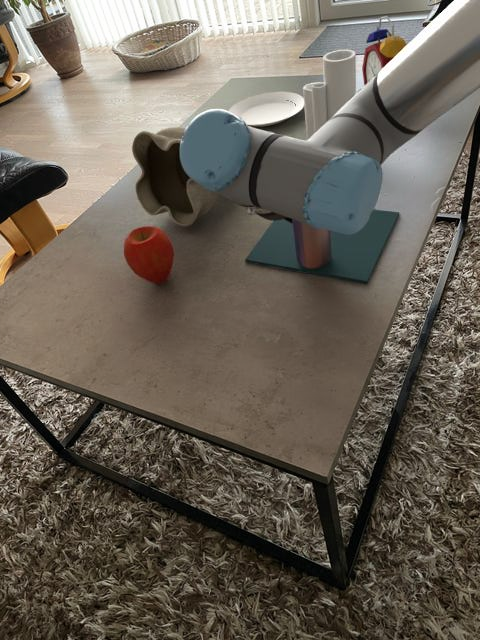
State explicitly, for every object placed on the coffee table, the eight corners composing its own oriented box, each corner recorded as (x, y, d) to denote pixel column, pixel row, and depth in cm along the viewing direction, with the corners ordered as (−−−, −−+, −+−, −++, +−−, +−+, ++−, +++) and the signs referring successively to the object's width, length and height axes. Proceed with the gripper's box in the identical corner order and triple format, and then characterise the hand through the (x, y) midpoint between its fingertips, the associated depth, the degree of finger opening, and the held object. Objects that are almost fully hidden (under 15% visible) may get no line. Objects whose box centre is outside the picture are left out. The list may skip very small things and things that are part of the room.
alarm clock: (361, 98, 129) (361, 12, 115) (392, 90, 129) (396, 3, 115) (383, 118, 118) (386, 26, 104) (417, 110, 118) (425, 16, 104)
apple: (127, 286, 88) (105, 237, 80) (161, 260, 92) (144, 211, 84) (157, 303, 83) (137, 252, 76) (192, 275, 87) (176, 224, 79)
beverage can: (290, 265, 83) (280, 187, 73) (307, 246, 86) (300, 168, 76) (321, 274, 80) (315, 194, 70) (338, 253, 83) (335, 174, 73)
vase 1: (204, 101, 111) (109, 122, 92) (284, 89, 98) (191, 112, 79) (221, 195, 121) (138, 232, 102) (295, 196, 108) (215, 239, 89)
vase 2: (358, 143, 111) (358, 48, 98) (352, 158, 107) (351, 61, 93) (310, 143, 115) (303, 52, 101) (302, 158, 111) (294, 64, 97)
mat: (399, 214, 89) (399, 212, 89) (367, 284, 78) (367, 281, 77) (289, 202, 99) (288, 199, 98) (245, 262, 87) (244, 259, 87)
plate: (296, 93, 139) (295, 85, 137) (314, 121, 123) (313, 113, 122) (225, 110, 139) (223, 102, 138) (234, 140, 124) (232, 131, 122)
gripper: (197, 206, 65) (264, 236, 86) (333, 224, 57) (371, 252, 78) (207, 150, 65) (273, 193, 85) (347, 160, 56) (381, 205, 77)
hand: (319, 221), depth 82 cm, fingers open, 6 cm apart
